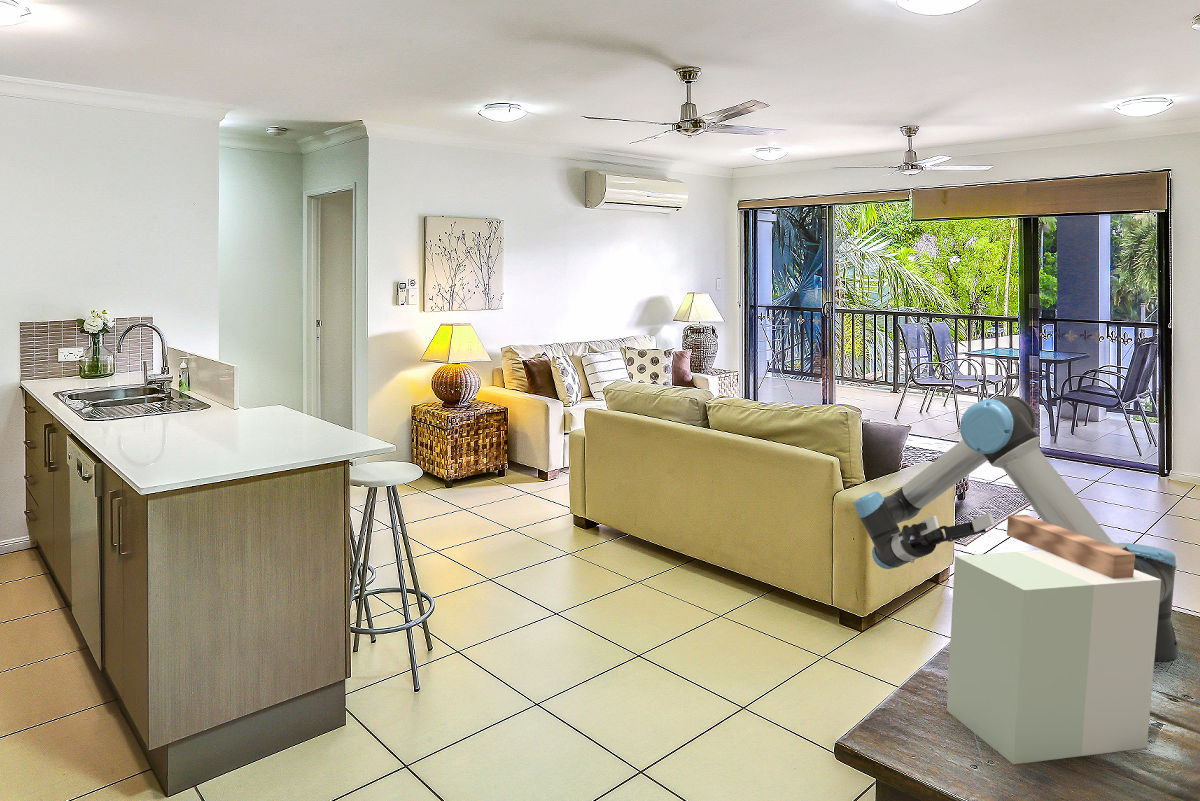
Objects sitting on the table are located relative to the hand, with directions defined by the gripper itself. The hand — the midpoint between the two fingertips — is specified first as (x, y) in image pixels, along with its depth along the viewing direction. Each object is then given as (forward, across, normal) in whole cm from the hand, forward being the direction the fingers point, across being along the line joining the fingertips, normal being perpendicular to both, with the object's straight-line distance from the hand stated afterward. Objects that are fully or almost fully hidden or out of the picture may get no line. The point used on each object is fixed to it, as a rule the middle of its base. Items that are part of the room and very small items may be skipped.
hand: (964, 520), depth 175 cm
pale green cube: (+16, +8, -42) cm, 46 cm away
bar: (+26, 0, -13) cm, 29 cm away
